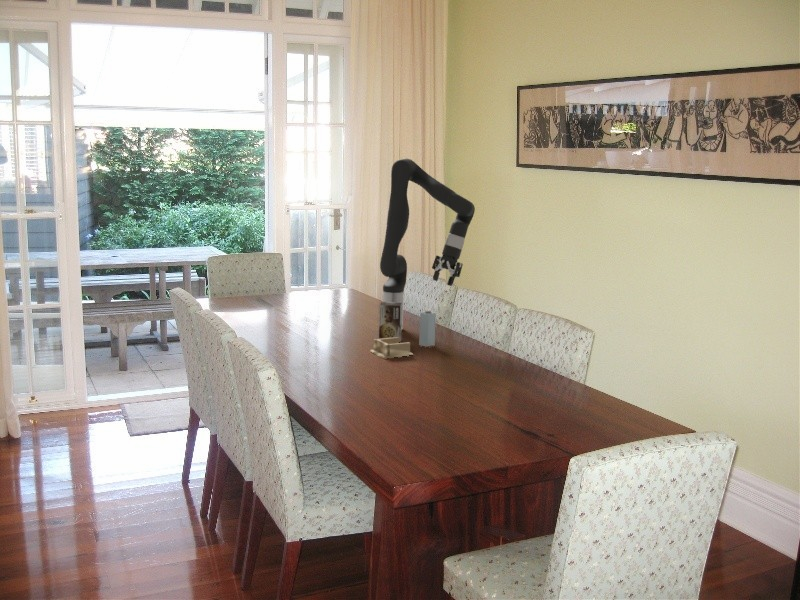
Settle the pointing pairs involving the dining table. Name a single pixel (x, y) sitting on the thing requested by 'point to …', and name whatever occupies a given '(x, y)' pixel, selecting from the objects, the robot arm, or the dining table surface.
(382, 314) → the coffee box
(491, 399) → the dining table surface
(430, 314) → the post
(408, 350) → the keeper pocket
